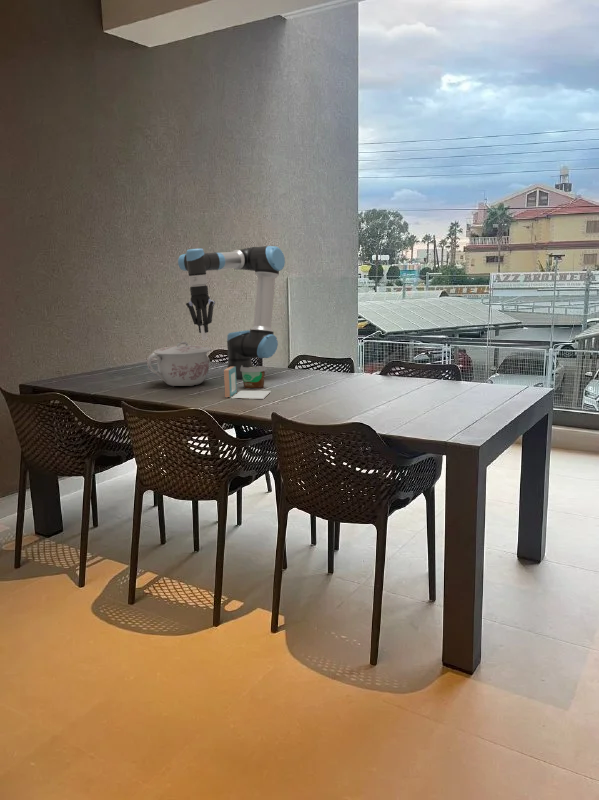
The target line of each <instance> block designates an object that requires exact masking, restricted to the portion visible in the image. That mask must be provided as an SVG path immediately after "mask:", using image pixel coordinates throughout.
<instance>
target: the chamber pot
mask: <svg viewBox="0 0 599 800" xmlns="http://www.w3.org/2000/svg"><path fill="white" fill-rule="evenodd" d="M212 350H213V349H212V348H211V347H209V346H206V345H198V344H197V345H195V344H194V345H193V344H188V342H187V341H181V342H178V343H177V344H176V345H171V346H165V347H161V348H157V349H154V351H153V352H152V353H150V354H149V356H148V357H147V359H146V361H147V363H146V364H147V368H148V369H149V370H150V372H151V373H153V374H155V375H156V376H158V377H159V378H160V379H161V380H162V381H164V383H165V384H166V385H168V386H171V387H174V386H191V387H194V385H196V386H198V385H200V384H202V383H203V382H204V381H205V379H206V378H207V375H208V374H209V370H210V365H211V363H210V358H209V356H208V353H209V352H211V351H212ZM154 358H155V359H157V362H156V363H157V364H156V365H157V370H158V371H156V369H154V368H153V366H152V360H153V359H154Z"/></svg>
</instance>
